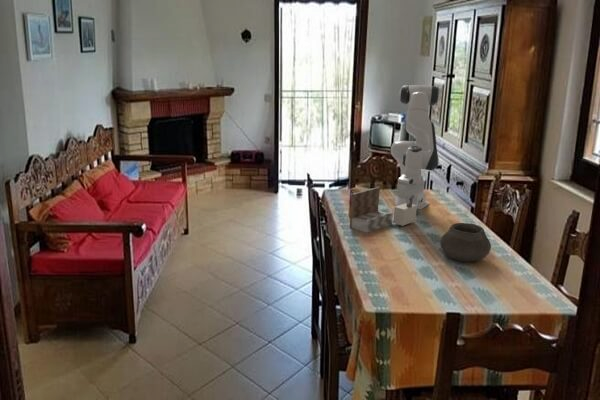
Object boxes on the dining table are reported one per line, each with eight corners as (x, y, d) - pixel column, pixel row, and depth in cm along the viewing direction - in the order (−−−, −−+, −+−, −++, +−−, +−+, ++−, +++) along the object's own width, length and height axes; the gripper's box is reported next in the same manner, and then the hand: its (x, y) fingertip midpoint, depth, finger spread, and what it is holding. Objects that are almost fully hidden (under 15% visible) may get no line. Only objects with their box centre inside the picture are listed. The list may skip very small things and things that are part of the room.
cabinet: (405, 218, 284) (408, 193, 280) (415, 220, 280) (418, 196, 276) (393, 222, 276) (395, 197, 272) (402, 225, 272) (405, 200, 268)
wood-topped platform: (375, 218, 285) (377, 186, 280) (392, 223, 278) (395, 191, 272) (349, 226, 270) (351, 193, 265) (366, 232, 263) (369, 198, 257)
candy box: (364, 217, 286) (366, 191, 282) (359, 218, 284) (361, 192, 279) (353, 213, 293) (355, 187, 288) (348, 214, 290) (349, 188, 286)
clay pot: (436, 262, 229) (440, 231, 225) (441, 246, 248) (445, 217, 244) (487, 271, 222) (492, 239, 217) (489, 254, 241) (493, 224, 237)
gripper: (417, 173, 279) (415, 198, 283) (395, 179, 265) (393, 205, 269) (428, 176, 274) (425, 200, 278) (406, 182, 260) (403, 208, 265)
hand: (409, 203), depth 273 cm, fingers closed on cabinet
